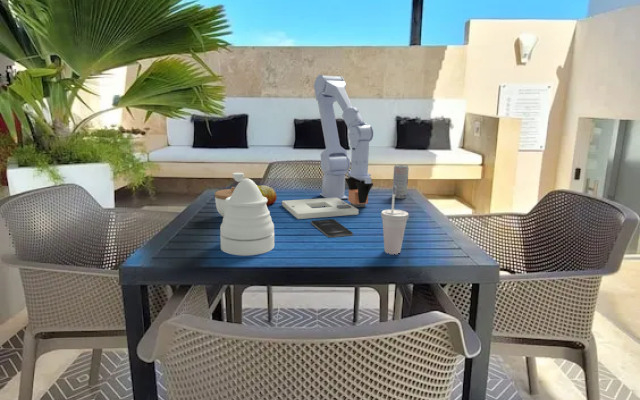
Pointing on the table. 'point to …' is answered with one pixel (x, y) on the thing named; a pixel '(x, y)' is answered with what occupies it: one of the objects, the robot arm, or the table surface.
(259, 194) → the honey pot
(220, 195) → the lidded jar
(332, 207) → the socket plate
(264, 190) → the fruit
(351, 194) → the orange cube
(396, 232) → the smoothie
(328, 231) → the smartphone
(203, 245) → the table surface
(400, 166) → the energy drink
